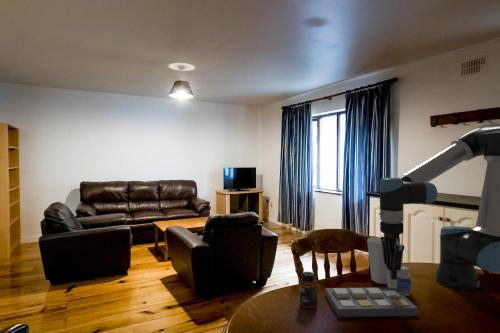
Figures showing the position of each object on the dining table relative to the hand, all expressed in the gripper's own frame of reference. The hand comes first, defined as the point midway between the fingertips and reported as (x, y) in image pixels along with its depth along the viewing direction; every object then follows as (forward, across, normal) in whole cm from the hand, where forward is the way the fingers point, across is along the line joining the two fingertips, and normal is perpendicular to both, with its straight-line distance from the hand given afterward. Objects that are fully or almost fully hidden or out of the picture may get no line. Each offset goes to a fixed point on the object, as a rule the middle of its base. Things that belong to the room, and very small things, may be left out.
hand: (392, 287), depth 110 cm
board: (+5, +2, -10) cm, 11 cm away
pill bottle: (+6, -7, +7) cm, 12 cm away
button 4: (+3, 0, -19) cm, 19 cm away
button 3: (+3, 0, -13) cm, 13 cm away
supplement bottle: (+5, +2, -31) cm, 31 cm away
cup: (+6, -19, +4) cm, 20 cm away
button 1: (+5, 0, -1) cm, 5 cm away
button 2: (+3, 0, -7) cm, 7 cm away
